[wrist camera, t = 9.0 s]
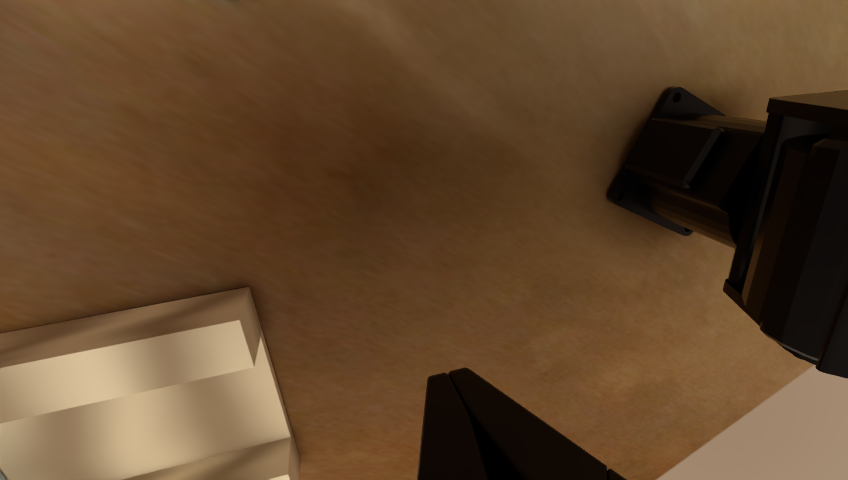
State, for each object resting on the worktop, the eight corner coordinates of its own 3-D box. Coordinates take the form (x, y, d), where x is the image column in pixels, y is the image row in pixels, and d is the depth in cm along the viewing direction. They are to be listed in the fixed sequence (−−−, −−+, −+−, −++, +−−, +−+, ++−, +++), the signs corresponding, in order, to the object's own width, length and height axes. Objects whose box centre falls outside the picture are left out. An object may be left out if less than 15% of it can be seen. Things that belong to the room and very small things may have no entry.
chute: (249, 286, 21) (239, 320, 18) (300, 459, 25) (298, 507, 22) (-241, 378, 17) (-345, 437, 14) (-78, 559, 22) (-133, 628, 19)
